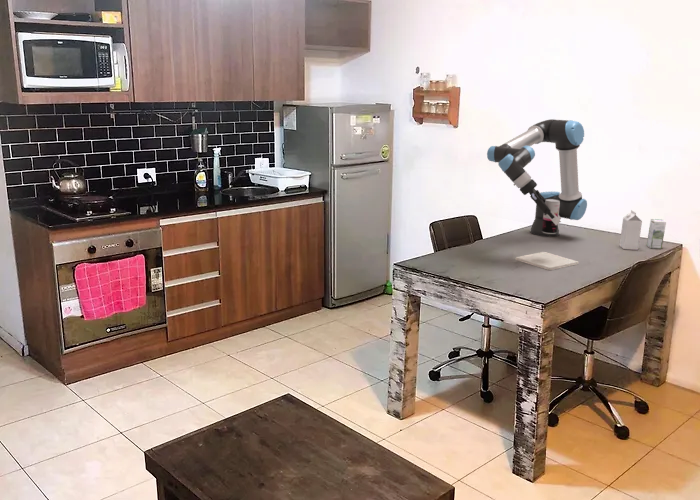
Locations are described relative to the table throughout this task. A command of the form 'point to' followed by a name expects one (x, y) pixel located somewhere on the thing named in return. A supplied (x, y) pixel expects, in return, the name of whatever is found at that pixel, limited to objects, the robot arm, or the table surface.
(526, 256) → the ceramic tile
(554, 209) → the beverage can
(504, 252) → the table surface
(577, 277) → the table surface
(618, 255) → the table surface
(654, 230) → the syrup box
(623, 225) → the milk carton
